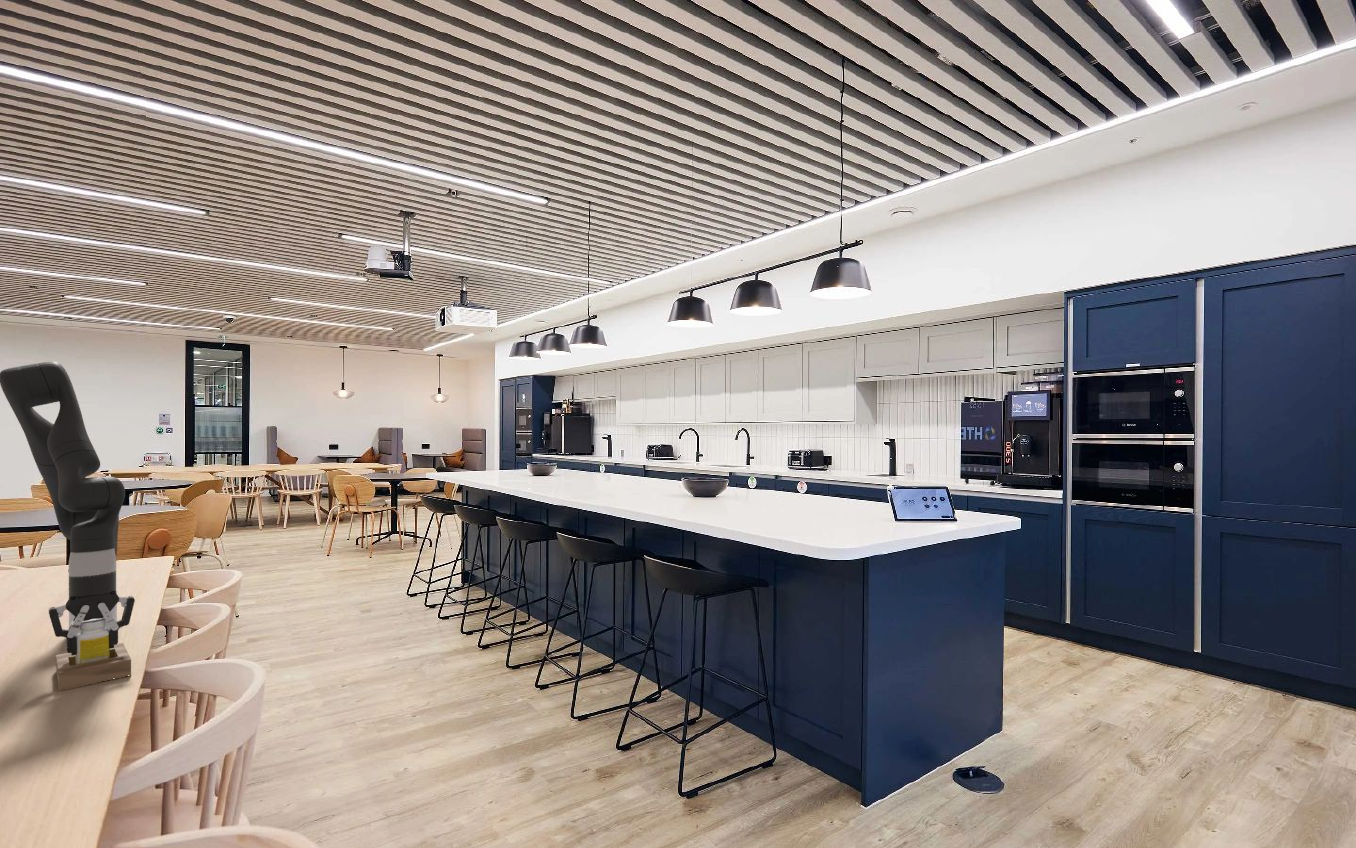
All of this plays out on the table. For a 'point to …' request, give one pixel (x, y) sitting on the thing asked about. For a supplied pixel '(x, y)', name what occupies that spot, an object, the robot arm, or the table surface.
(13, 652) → the table surface
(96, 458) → the robot arm
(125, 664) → the well block
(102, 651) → the supplement bottle
